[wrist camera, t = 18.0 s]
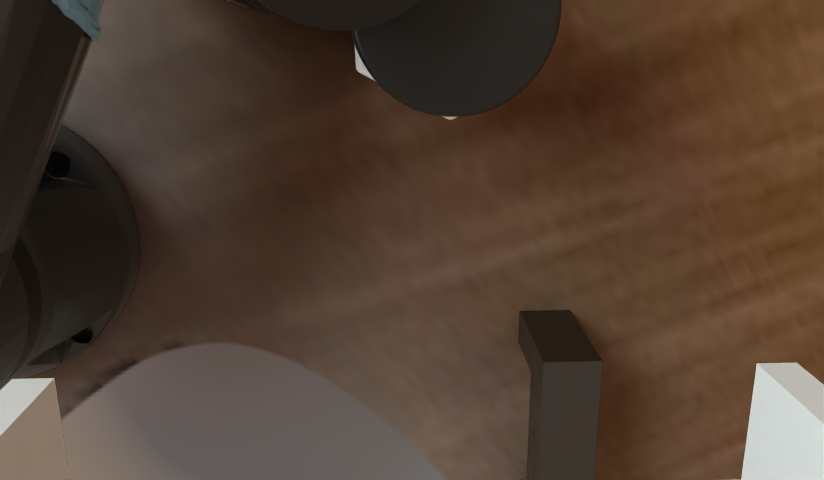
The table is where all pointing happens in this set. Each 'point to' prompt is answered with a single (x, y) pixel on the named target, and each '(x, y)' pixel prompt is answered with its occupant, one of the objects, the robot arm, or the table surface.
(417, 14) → the jar
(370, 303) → the table surface
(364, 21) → the french press
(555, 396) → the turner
